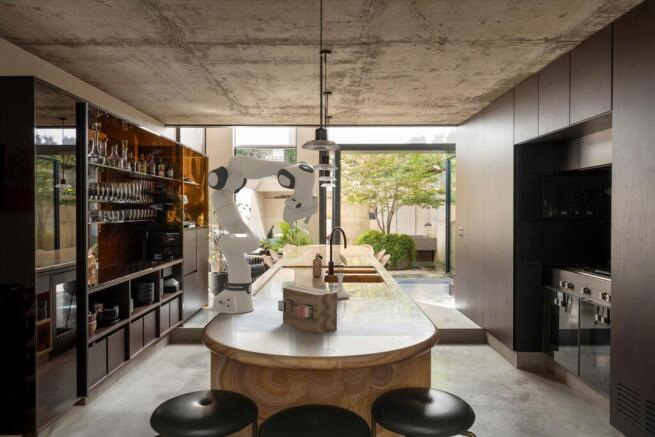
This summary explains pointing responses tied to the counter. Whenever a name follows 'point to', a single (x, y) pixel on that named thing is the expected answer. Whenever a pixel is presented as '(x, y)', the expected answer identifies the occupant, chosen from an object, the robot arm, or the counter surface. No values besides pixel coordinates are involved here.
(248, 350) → the counter surface
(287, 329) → the counter surface
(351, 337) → the counter surface
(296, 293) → the button panel
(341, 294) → the flower in vase
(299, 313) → the plunger right
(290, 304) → the plunger left
